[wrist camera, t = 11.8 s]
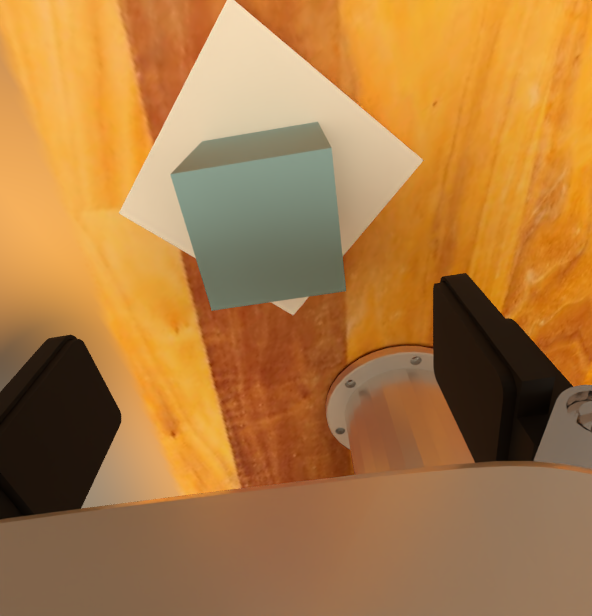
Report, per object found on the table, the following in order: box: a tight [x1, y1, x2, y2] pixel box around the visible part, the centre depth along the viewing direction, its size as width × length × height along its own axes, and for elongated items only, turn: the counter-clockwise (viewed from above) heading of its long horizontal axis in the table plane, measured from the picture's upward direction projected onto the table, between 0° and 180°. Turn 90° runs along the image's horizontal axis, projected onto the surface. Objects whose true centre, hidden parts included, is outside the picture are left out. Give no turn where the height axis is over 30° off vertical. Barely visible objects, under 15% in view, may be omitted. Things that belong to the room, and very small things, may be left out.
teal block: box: [170, 122, 346, 310], centre depth 20 cm, size 6×6×7 cm
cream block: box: [119, 0, 423, 315], centre depth 24 cm, size 12×12×4 cm
